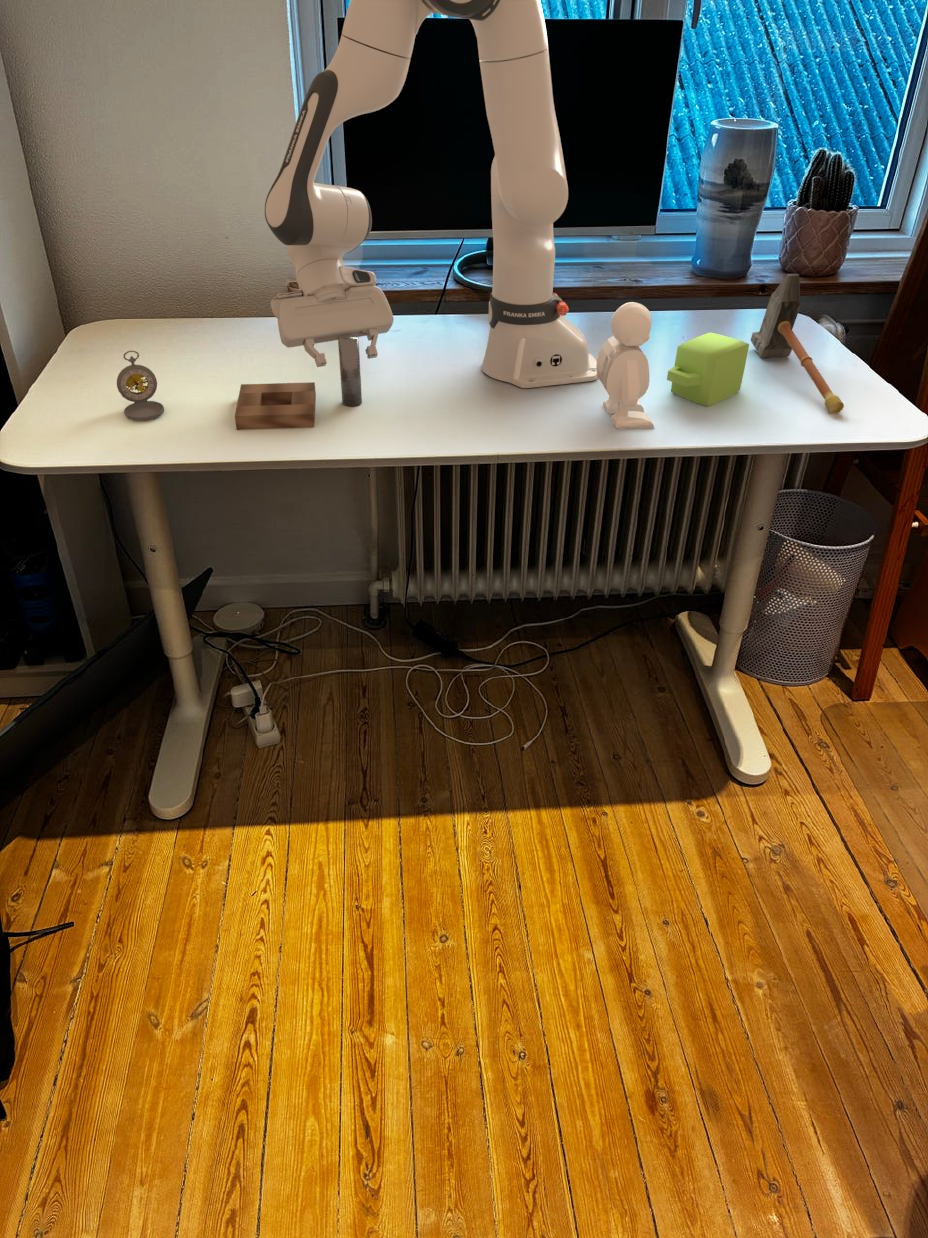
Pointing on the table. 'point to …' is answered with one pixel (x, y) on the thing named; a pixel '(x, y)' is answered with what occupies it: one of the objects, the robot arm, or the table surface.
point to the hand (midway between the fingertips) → (347, 361)
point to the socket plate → (276, 406)
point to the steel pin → (350, 369)
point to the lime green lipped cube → (708, 368)
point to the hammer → (789, 336)
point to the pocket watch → (131, 378)
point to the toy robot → (626, 366)
